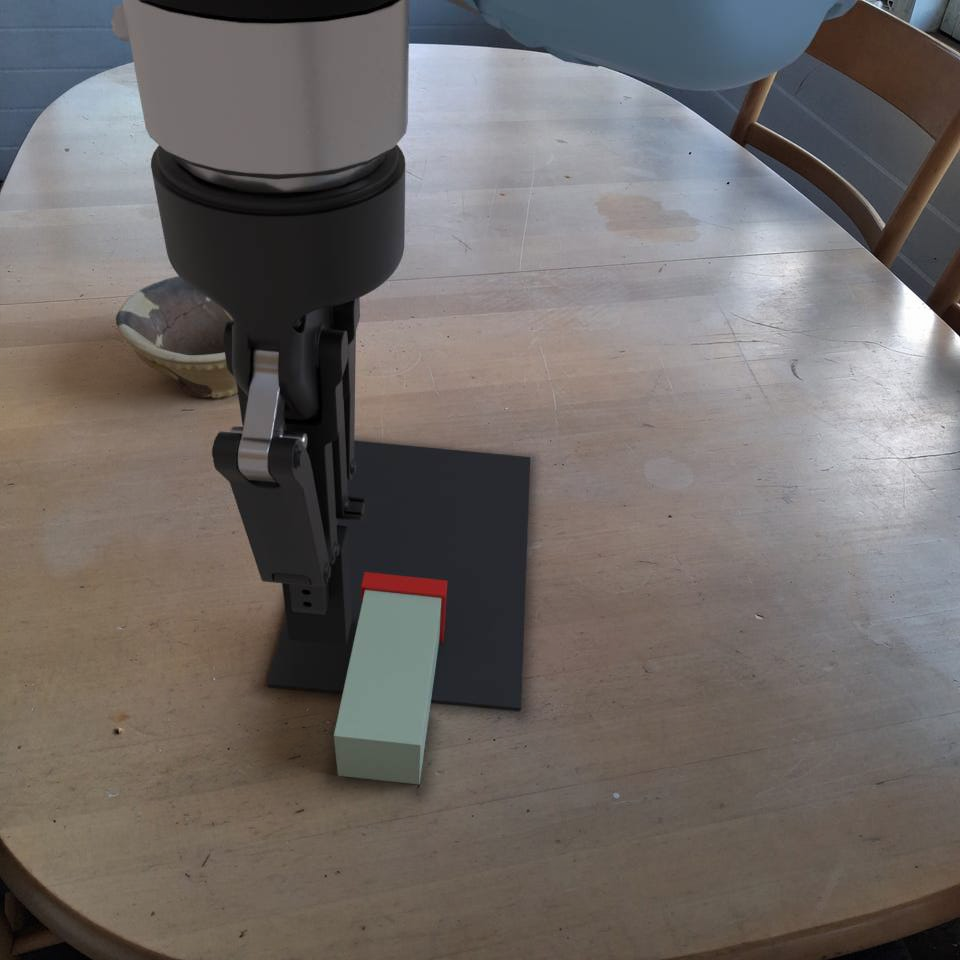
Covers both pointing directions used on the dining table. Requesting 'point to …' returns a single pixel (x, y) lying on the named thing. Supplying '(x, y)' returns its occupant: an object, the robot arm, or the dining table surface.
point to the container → (390, 678)
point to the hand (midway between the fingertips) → (320, 629)
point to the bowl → (179, 336)
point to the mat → (436, 567)
